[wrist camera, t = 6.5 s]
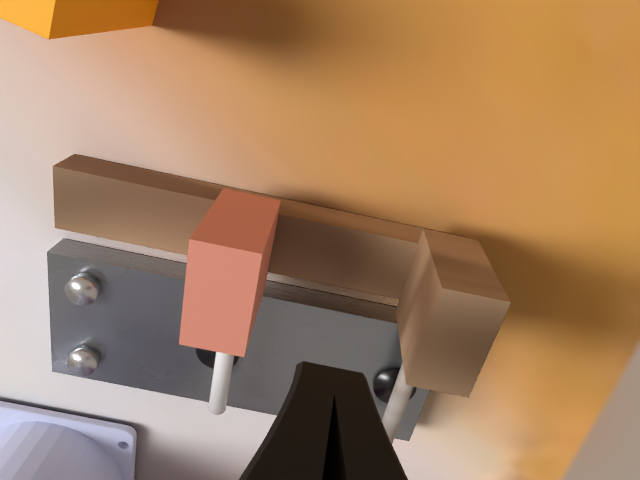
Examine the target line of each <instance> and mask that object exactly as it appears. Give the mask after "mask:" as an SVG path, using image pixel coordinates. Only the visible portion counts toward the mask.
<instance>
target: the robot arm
mask: <svg viewBox="0 0 640 480" xmlns="http://www.w3.org/2000/svg"><path fill="white" fill-rule="evenodd" d="M136 439H137V433H136V431H135V429H134V428H132V427H131V426H128V425H124V424H118V423H113V422H108V421H103V420H97V419H92V418H87V417H82V416H77V415H71V414H66V413H61V412H56V411H51V410H45V409H40V408H35V407H30V406H25V405H19V404H14V403H9V402H4V401H0V480H134V473H135V456H136ZM239 480H408V479H407V477H406V475H405V473H404V470H403V468H402V466H401V464H400V462H399V459H398V457H397V455H396V453H395V451H394V449H393V446H392V444H391V442H390V440H389V437H388V435H387V432H386V430H385V428H384V425H383V423H382V420H381V418H380V415H379V413H378V410H377V407H376V405H375V402H374V399H373V396H372V394H371V391H370V388H369V385H368V382H367V378H366V377H365V376H364V374H363V373H361V372H356V371H351V370H346V369H341V368H336V367H331V366H326V365H321V364H316V363H311V362H306V361H302V362H300V363H298V364H296V368H295V373H294V377H293V381H292V384H291V387H290V389H289V392H288V394H287V396H286V399H285V401H284V403H283V405H282V407H281V409H280V411H279V413H278V415H277V417H276V419H275V421H274V423H273V424H272V426H271V428H270V430H269V432H268V434H267V436H266V437H265V439H264V441H263V442H262V444H261V446H260V447H259V449H258V450H257V452H256V454H255V455H254V457H253V458H252V460H251V461H250V463H249V465H248V466H247V468H246V469H245V471H244V472H243V474H242V476H241V477H240V479H239Z"/></svg>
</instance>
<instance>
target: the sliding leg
mask: <svg viewBox="0 0 640 480" xmlns="http://www.w3.org/2000/svg"><path fill="white" fill-rule="evenodd" d="M280 203H281V200H276V199H272V198H267V197H262V196H258V195H253V194H248V193H244V192H239V191H234V190H229V189H225V188H223V190H222V191H221V193H220V194H219V196H218V197H217V199H216V200H215V202H214V203H213V204H212V206H211V207H210V209H209V210H208V212H207V213H206V215H205V216H204V218H203V219H202V221H201V222H200V224H199V225H198V227H197V228H196V230H195V231H194V233H193V234H192V236H191V237H190V239H189V247H188V257H187V267H186V277H185V287H184V297H183V307H182V317H181V327H180V338H179V344H180V345H185V346H190V347H195V348H200V349H205V350H210V351H215V352H216V357H215V364H214V371H213V378H212V385H211V392H210V399H209V406H208V409H209V411H210V412H211V413H212V414H216V415H218V414H222V413H223V412H224V411H225V409H226V403H227V397H228V391H229V385H230V379H231V373H232V366H233V360H234V355H235V356H240V357H245V353H246V350H247V347H248V343H249V340H250V337H251V333H252V330H253V326H254V323H255V320H256V316H257V313H258V310H259V306H260V303H261V299H262V296H263V293H264V289H265V285H266V279H267V274H268V268H269V263H270V257H271V252H272V247H273V241H274V236H275V230H276V225H277V219H278V214H279V209H280Z"/></svg>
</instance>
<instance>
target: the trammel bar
mask: <svg viewBox="0 0 640 480" xmlns="http://www.w3.org/2000/svg"><path fill="white" fill-rule="evenodd" d="M53 186H54V215H55V228H58V229H63V230H68V231H73V232H77V233H82V234H87V235H92V236H97V237H102V238H106V239H111V240H116V241H121V242H126V243H131V244H135V245H140V246H145V247H150V248H155V249H160V250H164V251H169V252H174V253H179V254H184V255H188V247H189V239H190V237H191V236H192V234H193V233H194V231H195V230H196V228H197V227H198V225H199V224H200V222H201V221H202V219H203V218H204V216H205V215H206V213H207V212H208V210H209V209H210V207H211V206H212V204H213V203H214V202H215V200H216V199H217V197H218V196H219V194H220V193H221V191H222V190H223V188H225V189H229V190H234V191H239V192H244V193H248V194H253V195H258V196H262V197H267V198H272V199H276V200H281V203H280V209H279V214H278V219H277V225H276V230H275V236H274V241H273V247H272V252H271V257H270V263H269V268H268V272H271V273H276V274H281V275H285V276H290V277H295V278H300V279H305V280H310V281H315V282H319V283H324V284H329V285H334V286H339V287H344V288H348V289H353V290H358V291H363V292H368V293H373V294H377V295H382V296H387V297H392V298H397V299H400V300H399V303H398V306H397V309H396V319H397V326H398V333H399V340H400V347H401V353H402V360H403V363H402V366H401V368H400V371H399V374H398V377H397V380H396V382H395V385H394V388H393V391H392V394H391V396H390V399H389V402H388V405H387V408H386V410H385V413H384V416H383V419H382V423H383V425H384V428H385V430H386V432H387V435H388V437H389V440H390V442H391V444H392V443H393V440H394V437H395V435H396V432H397V429H398V427H399V424H400V421H401V419H402V416H403V414H404V411H405V408H406V406H407V403H408V400H409V398H410V395H411V392H412V390H413V387H418V388H423V389H428V390H433V391H438V392H443V393H448V394H453V395H458V396H463V397H468V398H469V395H470V393H471V391H472V389H473V386H474V384H475V382H476V380H477V377H478V375H479V373H480V371H481V369H482V366H483V364H484V362H485V360H486V357H487V355H488V353H489V351H490V349H491V346H492V344H493V342H494V340H495V337H496V335H497V333H498V331H499V329H500V326H501V324H502V322H503V320H504V317H505V315H506V313H507V311H508V309H509V306H510V304H511V301H510V299H509V297H508V295H507V293H506V292H505V290H504V288H503V286H502V284H501V282H500V280H499V278H498V277H497V275H496V273H495V271H494V269H493V267H492V265H491V263H490V261H489V260H488V258H487V256H486V254H485V252H484V250H483V248H482V246H481V244H480V243H479V241H478V240H475V239H470V238H466V237H462V236H457V235H453V234H448V233H443V232H439V231H434V230H429V229H424V228H420V227H415V226H410V225H406V224H401V223H396V222H392V221H387V220H382V219H377V218H373V217H368V216H363V215H359V214H354V213H349V212H345V211H340V210H335V209H330V208H326V207H321V206H316V205H312V204H307V203H302V202H298V201H293V200H288V199H283V198H279V197H274V196H269V195H265V194H260V193H255V192H251V191H246V190H241V189H237V188H232V187H227V186H222V185H218V184H213V183H208V182H204V181H199V180H194V179H190V178H185V177H180V176H175V175H171V174H166V173H161V172H157V171H152V170H147V169H143V168H138V167H133V166H128V165H124V164H119V163H114V162H110V161H105V160H100V159H96V158H91V157H86V156H81V155H77V154H74V155H72V156H70V157H68V158H66V159H65V160H63V161H61V162H59V163H58V164H56V165H54V166H53Z"/></svg>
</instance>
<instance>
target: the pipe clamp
mask: <svg viewBox="0 0 640 480" xmlns="http://www.w3.org/2000/svg"><path fill="white" fill-rule="evenodd" d="M158 1H159V0H0V18H2V19H4V20H6V21H9V22H11V23H13V24H15V25H18V26H20V27H22V28H24V29H27V30H29V31H31V32H33V33H36V34H38V35H40V36H42V37H45V38H47V39H54V38H62V37H69V36H77V35H85V34H92V33H100V32H107V31H115V30H123V29H130V28H138V27H145V26H152V24H153V21H154V17H155V13H156V9H157V5H158Z"/></svg>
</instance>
